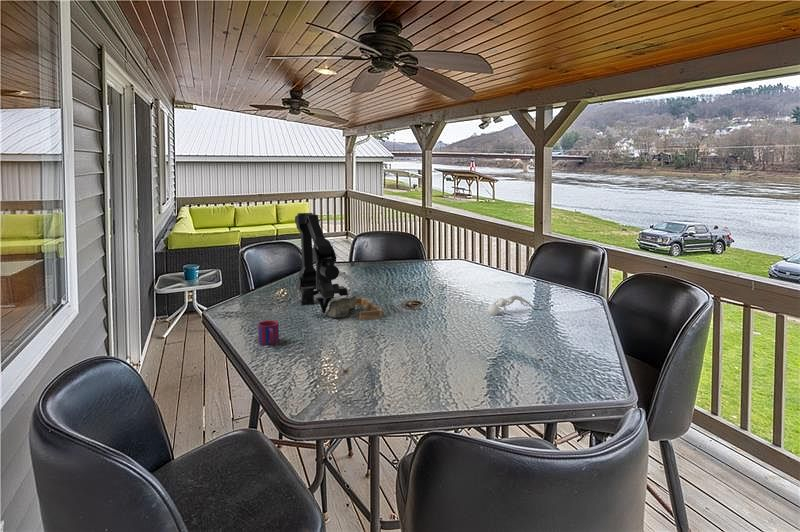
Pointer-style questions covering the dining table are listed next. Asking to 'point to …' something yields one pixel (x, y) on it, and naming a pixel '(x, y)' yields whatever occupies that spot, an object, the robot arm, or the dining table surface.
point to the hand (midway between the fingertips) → (323, 313)
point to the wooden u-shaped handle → (373, 309)
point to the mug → (268, 332)
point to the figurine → (501, 302)
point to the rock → (341, 307)
